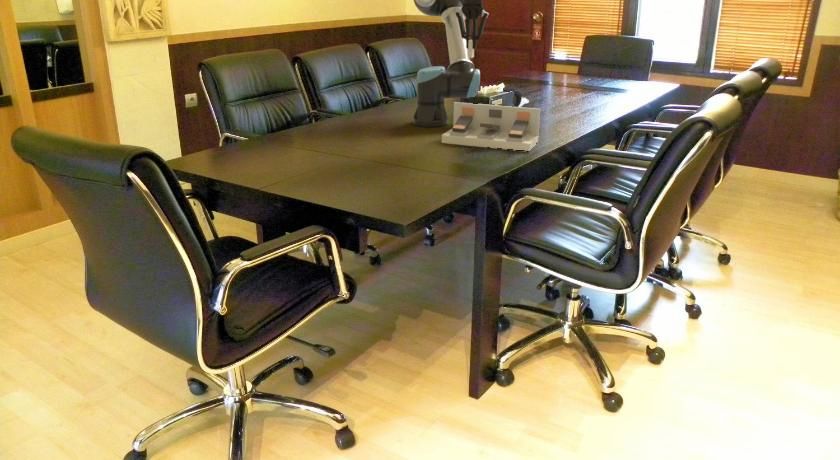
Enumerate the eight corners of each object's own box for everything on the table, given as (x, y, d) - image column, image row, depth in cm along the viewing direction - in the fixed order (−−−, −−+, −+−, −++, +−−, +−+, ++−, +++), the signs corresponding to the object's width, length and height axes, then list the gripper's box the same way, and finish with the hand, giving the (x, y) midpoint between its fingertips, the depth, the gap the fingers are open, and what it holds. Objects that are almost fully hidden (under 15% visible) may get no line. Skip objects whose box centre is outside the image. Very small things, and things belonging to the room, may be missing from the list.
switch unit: (441, 142, 245) (442, 108, 240) (453, 134, 257) (454, 102, 252) (529, 151, 233) (531, 116, 228) (538, 142, 245) (540, 108, 240)
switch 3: (508, 136, 236) (508, 133, 235) (515, 122, 243) (515, 119, 242) (521, 137, 234) (521, 134, 233) (528, 123, 241) (528, 120, 240)
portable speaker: (477, 114, 291) (478, 92, 288) (467, 110, 300) (468, 88, 296) (524, 109, 301) (526, 88, 297) (513, 106, 309) (514, 85, 305)
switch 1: (452, 131, 243) (451, 127, 242) (460, 118, 250) (460, 115, 250) (464, 132, 242) (464, 128, 241) (472, 119, 249) (472, 116, 248)
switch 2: (479, 126, 238) (480, 122, 238) (487, 127, 247) (487, 124, 247) (492, 127, 236) (493, 124, 236) (499, 129, 246) (500, 125, 245)
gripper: (453, -7, 240) (452, 57, 249) (486, -7, 235) (484, 59, 244) (459, -8, 246) (458, 55, 255) (492, -8, 242) (489, 57, 251)
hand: (471, 57), depth 250 cm, fingers closed
